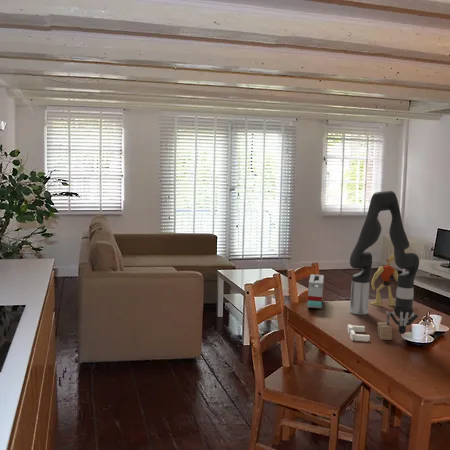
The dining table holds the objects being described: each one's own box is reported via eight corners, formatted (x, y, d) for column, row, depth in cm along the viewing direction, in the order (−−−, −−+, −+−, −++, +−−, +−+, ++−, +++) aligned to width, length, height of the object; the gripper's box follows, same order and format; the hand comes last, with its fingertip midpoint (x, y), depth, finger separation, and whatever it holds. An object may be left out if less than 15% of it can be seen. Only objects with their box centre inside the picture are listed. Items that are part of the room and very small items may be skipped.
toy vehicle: (323, 297, 320) (324, 272, 319) (321, 310, 291) (323, 283, 289) (309, 296, 322) (310, 271, 320) (306, 309, 293) (308, 282, 291)
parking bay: (347, 330, 257) (347, 323, 257) (364, 331, 257) (364, 324, 256) (351, 340, 243) (352, 333, 242) (369, 341, 242) (369, 334, 242)
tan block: (377, 334, 252) (377, 310, 251) (388, 334, 252) (388, 310, 251) (380, 339, 245) (380, 314, 244) (391, 339, 245) (391, 314, 244)
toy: (403, 302, 316) (407, 251, 312) (410, 306, 307) (414, 254, 304) (366, 302, 312) (369, 251, 308) (372, 306, 303) (376, 254, 300)
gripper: (417, 295, 249) (414, 331, 251) (388, 293, 250) (385, 330, 252) (421, 299, 241) (418, 336, 243) (391, 297, 243) (388, 335, 245)
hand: (401, 333), depth 248 cm, fingers closed
